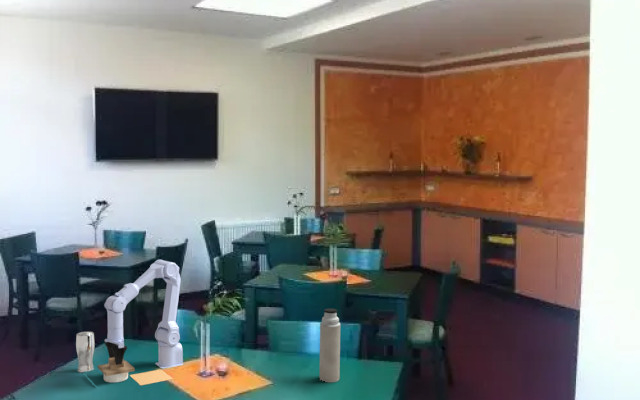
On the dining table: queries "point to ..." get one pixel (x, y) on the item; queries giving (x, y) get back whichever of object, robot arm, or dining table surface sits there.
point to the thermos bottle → (330, 346)
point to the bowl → (116, 377)
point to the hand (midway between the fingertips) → (115, 361)
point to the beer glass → (85, 351)
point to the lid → (115, 367)
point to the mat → (151, 377)
